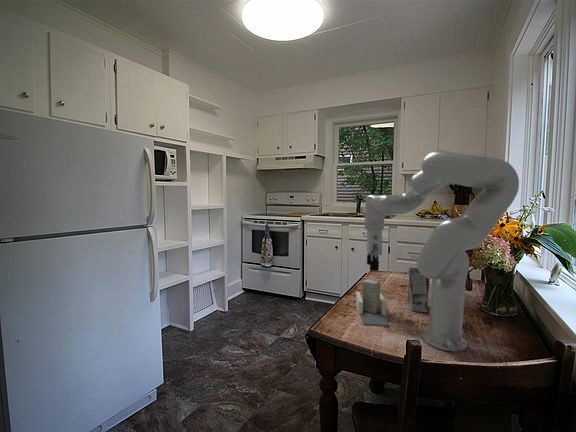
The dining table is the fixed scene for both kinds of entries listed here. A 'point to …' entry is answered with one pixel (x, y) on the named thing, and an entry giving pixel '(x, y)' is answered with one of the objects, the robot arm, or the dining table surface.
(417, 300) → the coffee box
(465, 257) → the robot arm
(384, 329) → the dining table surface
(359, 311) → the rack
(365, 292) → the skincare box
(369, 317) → the mat
